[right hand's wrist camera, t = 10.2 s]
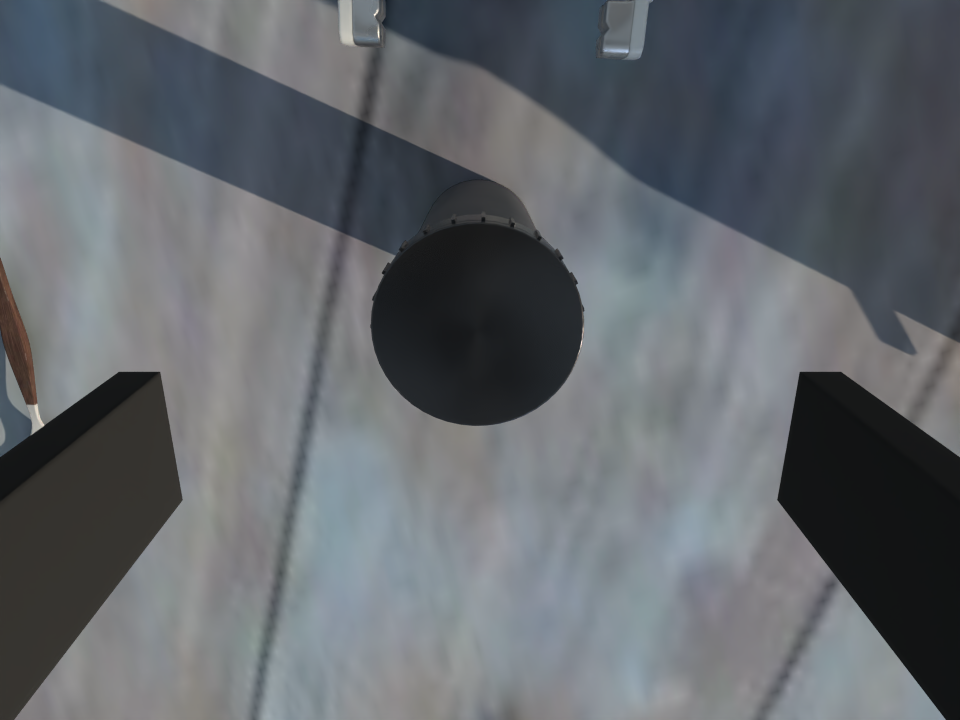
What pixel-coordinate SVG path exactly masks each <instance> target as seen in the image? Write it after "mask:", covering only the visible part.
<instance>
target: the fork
mask: <svg viewBox="0 0 960 720" xmlns="http://www.w3.org/2000/svg"><path fill="white" fill-rule="evenodd" d="M0 330H1V335H2V340H3V344H4V347H5V350H6V354H7V356H8V359H9V362H10V365H11V367H12V370H13V372H14V375H15V377H16V380H17V382H18V385H19V387H20V390H21V392H22V395H23V397H24V400H25V402H26V405H27V408H28V410H29V413H30V416H31V420H32V430H31V434H30V436H31V435H32V434H33V433H35V432H36V431H38V430H39V429H40V428H42V427H43V426H45V425H44V424H43V422H42V421H41V418H40V416H39V411H38V404H37V396H36V386H35V377H34V368H33V361H32V354H31V348H30V344H29V340H28V337H27V333H26V330H25V327H24V325H23V322H22V319H21V317H20V314H19V311H18V308H17V306H16V303H15V300H14V298H13V295H12V292H11V289H10V286H9V283H8V280H7V276H6V273H5V270H4V267H3V264H2V261H1V258H0Z"/></svg>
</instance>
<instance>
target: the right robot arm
mask: <svg viewBox="0 0 960 720" xmlns="http://www.w3.org/2000/svg"><path fill="white" fill-rule="evenodd" d="M182 500H183V499H182V494H181V488H180V482H179V477H178V471H177V465H176V460H175V454H174V448H173V442H172V437H171V431H170V425H169V420H168V414H167V408H166V403H165V397H164V391H163V386H162V380H161V374H160V372H118V373H117V374H115V375H114V376H113V377H111V378H110V379H109V380H107V381H106V382H104V383H103V384H102V385H100V386H99V387H97V388H96V389H95V390H93V391H92V392H90V393H89V394H88V395H86V396H85V397H83V398H82V399H81V400H79V401H78V402H77V403H75V404H74V405H72V406H71V407H70V408H68V409H67V410H65V411H64V412H63V413H61V414H60V415H58V416H57V417H56V418H54V419H53V420H51V421H50V422H49V423H47V424H46V425H45V426H43V427H42V428H40V429H39V430H38V431H36V432H35V433H33V434H32V435H31V436H29V437H28V438H26V439H25V440H24V441H22V442H21V443H19V444H18V445H17V446H15V447H14V448H13V449H11V450H10V451H8V452H7V453H6V454H4V455H3V456H1V457H0V720H14V719H15V718H16V716H17V715H18V714H19V713H20V711H21V710H22V709H23V707H24V706H25V705H26V703H27V702H28V701H29V700H30V698H31V697H32V696H33V694H34V693H35V692H36V690H37V689H38V688H39V686H40V685H41V684H42V683H43V681H44V680H45V679H46V677H47V676H48V675H49V673H50V672H51V671H52V670H53V668H54V667H55V666H56V664H57V663H58V662H59V660H60V659H61V658H62V657H63V655H64V654H65V653H66V651H67V650H68V649H69V647H70V646H71V645H72V643H73V642H74V641H75V640H76V638H77V637H78V636H79V634H80V633H81V632H82V630H83V629H84V628H85V627H86V625H87V624H88V623H89V621H90V620H91V619H92V617H93V616H94V615H95V614H96V612H97V611H98V610H99V608H100V607H101V606H102V604H103V603H104V602H105V600H106V599H107V598H108V597H109V595H110V594H111V593H112V591H113V590H114V589H115V587H116V586H117V585H118V584H119V582H120V581H121V580H122V578H123V577H124V576H125V574H126V573H127V572H128V571H129V569H130V568H131V567H132V565H133V564H134V563H135V561H136V560H137V559H138V557H139V556H140V555H141V554H142V552H143V551H144V550H145V548H146V547H147V546H148V544H149V543H150V542H151V541H152V539H153V538H154V537H155V535H156V534H157V533H158V531H159V530H160V529H161V528H162V526H163V525H164V524H165V522H166V521H167V520H168V518H169V517H170V516H171V514H172V513H173V512H174V511H175V509H176V508H177V507H178V505H179V504H180V503H181V501H182ZM777 500H778V501H779V503H780V504H781V505H782V507H783V508H784V509H785V511H786V512H787V513H788V514H789V516H790V517H791V518H792V520H793V521H794V522H795V524H796V525H797V526H798V528H799V529H800V530H801V531H802V533H803V534H804V535H805V537H806V538H807V539H808V541H809V542H810V543H811V544H812V546H813V547H814V548H815V550H816V551H817V552H818V554H819V555H820V556H821V557H822V559H823V560H824V561H825V563H826V564H827V565H828V567H829V568H830V569H831V571H832V572H833V573H834V574H835V576H836V577H837V578H838V580H839V581H840V582H841V584H842V585H843V586H844V587H845V589H846V590H847V591H848V593H849V594H850V595H851V597H852V598H853V599H854V600H855V602H856V603H857V604H858V606H859V607H860V608H861V610H862V611H863V612H864V614H865V615H866V616H867V617H868V619H869V620H870V621H871V623H872V624H873V625H874V627H875V628H876V629H877V630H878V632H879V633H880V634H881V636H882V637H883V638H884V640H885V641H886V642H887V643H888V645H889V646H890V647H891V649H892V650H893V651H894V653H895V654H896V655H897V657H898V658H899V659H900V660H901V662H902V663H903V664H904V666H905V667H906V668H907V670H908V671H909V672H910V673H911V675H912V676H913V677H914V679H915V680H916V681H917V683H918V684H919V685H920V686H921V688H922V689H923V690H924V692H925V693H926V694H927V696H928V697H929V698H930V700H931V701H932V702H933V703H934V705H935V706H936V707H937V709H938V710H939V711H940V713H941V714H942V715H943V716H944V718H945V719H946V720H960V457H959V456H957V455H956V454H954V453H953V452H952V451H950V450H949V449H947V448H946V447H945V446H943V445H942V444H941V443H939V442H938V441H936V440H935V439H934V438H932V437H931V436H929V435H928V434H927V433H925V432H924V431H922V430H921V429H920V428H918V427H917V426H915V425H914V424H913V423H911V422H910V421H909V420H907V419H906V418H904V417H903V416H902V415H900V414H899V413H897V412H896V411H895V410H893V409H892V408H890V407H889V406H888V405H886V404H885V403H883V402H882V401H881V400H879V399H878V398H877V397H875V396H874V395H872V394H871V393H870V392H868V391H867V390H865V389H864V388H863V387H861V386H860V385H858V384H857V383H856V382H854V381H853V380H851V379H850V378H849V377H847V376H846V375H845V374H843V373H842V372H800V374H799V380H798V386H797V391H796V397H795V403H794V408H793V414H792V420H791V425H790V431H789V437H788V443H787V448H786V454H785V460H784V465H783V471H782V477H781V482H780V488H779V494H778V499H777Z"/></svg>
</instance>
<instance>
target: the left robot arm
mask: <svg viewBox="0 0 960 720" xmlns="http://www.w3.org/2000/svg"><path fill="white" fill-rule="evenodd" d="M651 2H653V0H625V1H611V0H608V1H607V2H606V3H605V4H604V5H602V6H601V7H600V10H599V20H598V28H599V30H600V32H601V35H600V36H599V38H598V39H597V41H596V58H604V59H618V60H636V59H639V58H640V57H641V54H642V51H643V47H644V40H645V32H646V23H647V15H648V6H649V4H650V3H651ZM385 17H386V0H338V29H339V37H340V42H341V44H343V45H345V46H355V47H384V48H385V43H386V29H385V28H384V26H383V25H382V22H383V20H384V19H385Z"/></svg>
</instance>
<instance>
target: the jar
mask: <svg viewBox="0 0 960 720" xmlns="http://www.w3.org/2000/svg"><path fill="white" fill-rule="evenodd" d="M481 212H485V215H493V216H498V217H502V218H506V219H510V217H513V218H514V221H515V222H517V223H520V224H522V225H524V226H526V227H528V228H529V229H531V230H533V231H534V232H535V230H536V228H535V226H534V224H533V222H532V220H531V218H530V216H529V214H528V212H527V210H526V208H525V206H524V204H523V203H522V202H521V200H520V199H519V198H518V197H517V196H516V195H515V194H514V193H513V192H512V191H510V190H509V189H508V188H506V187H504V186H503V185H500V184H498V183H495V182H492V181H487V180H470V181H465V182H462V183H459V184H457V185H454V186H452V187H451V188H449V189H448V190H446V191H445V192H444V193H443V194H441V196H440V197H439V198H438V199H437V200H436V201H435V203H434V204H433V206H432V208H431V210H430V211H429V213H428V215H427V217H426V219H425V221H424V223H423V225H422V227H421V229H420V231H419V232H421V231H423V229H424V227H425V225H427V224H429V225H430V226H431V225H433V224H435V223H438V222H440V221H442V220H446V219H449V218H452V215H453V214H456V216H463V215H475V214H481Z"/></svg>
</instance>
